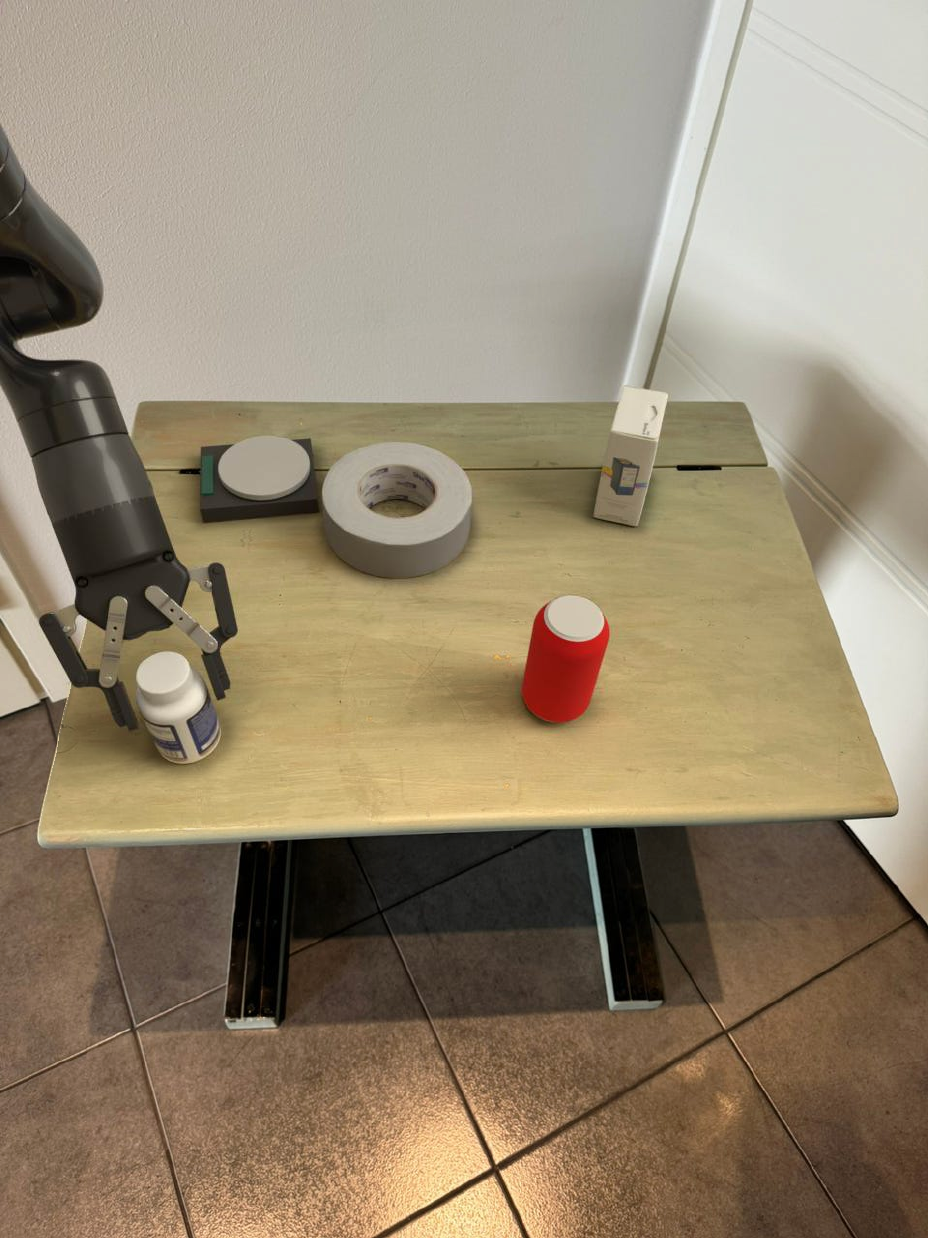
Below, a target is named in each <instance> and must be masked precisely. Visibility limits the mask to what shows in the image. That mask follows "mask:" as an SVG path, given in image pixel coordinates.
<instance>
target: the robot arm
mask: <svg viewBox="0 0 928 1238" xmlns="http://www.w3.org/2000/svg"><path fill="white" fill-rule="evenodd" d="M104 288H105V287H104V281H103V277H102V275H101V272H100V269H99V267H98V265H97V262H96V260H95V259H94V257H93V255H92V254H91V252H90V250H89V249H88V247H87V246H86V245H85V243H84V242H83V241H82V239H81V237H79V236H78V235H77V233H76V232H75V231H74V230H73V229H72V228H71V227H70V226H69V224H67V222H66V221H65V220H64V219H63V218H62V217H61V216H60V215H58V213H57V212H56V211H55V210H54V209H53V208H51V206H50V205H49V204H48V203H47V202H46V201H45V200H44V199H43V197H42V196H41V195H40V193H39V192H38V191H37V190H36V189H35V188H34V186H33V185H32V183H31V182H30V181H29V178H28V177H27V174H26V173H25V171H24V169H23V166H22V165H21V163H20V161H19V159H18V156H17V154H16V153H15V150H14V147H13V146H12V144H11V141H10V139H9V138H8V136H7V134H6V131H5V129H4V127H3V126H2V123H1V122H0V388H1V390H2V392H3V395H4V396H5V397H6V400H7V402H8V404H9V406H10V408H11V410H12V412H13V415H14V418H15V420H16V422H17V426H18V428H19V431H20V433H21V436H22V440H23V441H24V444H25V446H26V449H27V452H28V454H29V457H30V458H31V463H32V466H33V470H34V474H35V479H36V483H37V487H38V491H39V494H40V497H41V499H42V503H43V505H44V507H45V510H46V513H47V516H48V518H49V521H50V523H51V527H52V529H53V532H54V534H55V536H56V539H57V541H58V545H59V547H60V549H61V553H62V555H63V558H64V560H65V561H64V562H65V564H66V566H67V569H68V571H69V574H70V576H71V579H72V581H73V585H74V588H75V598H74V602H73V604H70V605H68V606H65V607H63V608H61V609H59V610H57V611H49V612H46V613H44V614H42V615H41V616H40V617H39V619H38V625H39V627H40V628H41V630H42V632H43V634H44V636H45V638H46V640H47V641H48V643H49V645H50V647H51V649H52V650H53V652H54V654H55V656H56V658H57V660H58V662H59V664H60V665H61V667H62V669H63V671H64V673H65V675H66V676H67V678H68V680H69V683H70V684H71V685H72V686H73V687H74V688H76V689H81V688H98V689H100V690H101V691H102V692H103V694H104V696H105V700H106V702H107V704H108V708H109V710H110V713H111V715H112V718H113V721H114V723H115V724H116V725H117V726H118V727H119V728H123V727H127V730H128V732H129V733H131V732H134V731H137V730H139V729H140V725H139V722H138V719H137V715H136V712H135V710H134V707H133V706H132V702H131V699H130V697H129V694H128V691H127V689H126V687H125V684H124V681H123V680H120V679H119V676H118V674H119V669H120V662H121V655H122V650H123V642H124V641H128V642H130V641H133V640H136V639H139V638H141V637H143V636H144V635H146V634H147V633H149V632H161V631H164V630H166V629H170V628H171V627H172V626H173V625H175V626H176V627H177V628H178V629H180V630H181V631H182V632H183V633H184V634H185V635H186V636H187V637H189V639H191V640H192V642H194V644H196V645H197V646H198V647H199V648H200V650H201V654H200V657H201V660H202V663H203V666H204V668H205V671H206V674H207V676H208V677H207V678H208V680H209V683H210V685H211V688H212V691H213V693H214V694H213V695H214V696H215V699H216V701H217V702H219V701H222V700H224V699H227V696H226V692H225V691H228V690H231V680H230V677H229V674H228V671H227V668H226V666H225V664H224V660H223V657H222V655H221V648H222V647H223V645H224V644H225V643H226V642H228V641H229V640H230V639H231V638H234V637H236V636H237V635H238V632H239V629H238V624H237V619H236V614H235V611H234V605H233V601H232V595H231V592H230V591H231V590H230V587H229V583H228V578H227V572H226V567H225V566H224V565H223V564H222V563H220V562H218V561H213V562H211V563H209V564H208V565H203V566H196V567H192V568H187V567H186V566H185V565H184V564H182V563H181V561H180V560H179V559H178V557H177V554H176V551H175V549H174V547H173V546H174V545H173V544H172V541H171V538H170V535H169V532H168V529H167V527H166V524H165V521H164V518H163V515H162V512H161V509H160V506H159V504H158V502H157V498H156V496H155V493H154V489H153V487H154V486H153V485H152V482H151V480H150V479H149V475H148V472H147V471H146V468H145V465H144V463H143V460H142V458H141V457H140V454H139V453H138V451H137V449H136V447H135V445H134V442H133V441H132V438H131V436H130V434H129V433H130V432H129V430H128V427H127V425H126V422H125V419H124V416H123V413H122V410H121V408H120V405H119V402H118V399H117V397H116V393H115V390H114V387H113V385H112V383H111V380H110V378H109V376H108V373H107V372H106V371H105V369H104V368H103V367H102V366H101V365H100V364H98V363H97V362H95V361H93V360H92V361H91V360H87V359H78V358H77V359H76V358H75V359H74V358H73V359H72V358H71V359H70V358H69V359H42V358H41V359H40V358H34V357H31V356H29V355H27V354H25V353H24V351H23V350H22V349H21V347H20V345H19V341H22V340H23V339H24V340H25V339H30V338H34V337H39V336H43V335H47V334H52V333H55V332H56V333H57V332H60V331H64V330H69V329H74V328H78V327H80V326H84V325H86V324H88V323H89V322H91V321H92V320H94V319H95V317H97V315H98V314H99V312H100V310H101V308H102V305H103V302H104V294H105V293H104V292H105V291H104ZM191 581H192V582H193V581H194V582H196V583H197V584H198V585H199V588H200V589H201V590H202V591H203V592H205V593H211V597H212V602H213V606H214V610H215V616H216V620H217V625H218V626H216V627H215V628H213V630H211V631H209V632H208V631H207V630H206V629H205V628H204V627H203V626H202V625H201V624H200V623H199V622H197V620H195V619H194V618H193V617H192V616H191V615H190V614H189V613H188V612H187V611H186V610H184V608H183V604H184V601H185V599H186V595H187V593H188V589H189V586H190V583H191ZM79 616H81V617H82V618H84V619H86V620H87V621H89V622H90V623H92V624H93V625H96V627H98V628H100V629H101V630H103V631H104V632H105V635H104V641H103V647H102V656H101V661H100V668H88V666H87V664H86V662H85V661H84V659H83V656H82V655H81V654H80V652H79V650H78V648H77V646H76V645H75V643H74V640H73V639H72V637H71V636H73V635H74V634H75V633H76V631H77V628H78V627H77V624H76V620H77V618H78V617H79Z"/></svg>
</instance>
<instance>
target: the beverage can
mask: <svg viewBox="0 0 928 1238" xmlns="http://www.w3.org/2000/svg"><path fill="white" fill-rule="evenodd" d="M530 634H531V635H530V639H529V640H530V641H529V646H528V651H527V655H526V656H527V657H526V662H525V666H524V672H523V678H522V683H521V696H522V699H523V700H522V701H523V703H524V704H525V706H526V708H527V709H528V710H529V711H530V713H532V714H533V715H534V716H536V717H537V718H539V719H541V720H544V721H547V722H549V723H568V722H571V721H574V720H576V719H579V717H581V716H582V715H583V714H585V712H586V711H587V710H588V708H589V706H590V704H591V700H592V698H593V694H594V691H595V687H596V684H597V681H598V677H599V674H600V671H601V668H602V664H603V662H604V657H605V655H606V651H607V648H608V644H609V641H610V634H611V632H610V625H609V622H608V620H607V618H606V616H605V614H604V613H603V611H602V609H601V608H600V606H599V605H598V604H597V603H595V602H594V601H592V600H591V599H589V598H586V597H584V596H581V595H578V594H577V595H576V594H564V595H561V596H557V597H555V598H553V599H552V600H550V601H548V602H547V603H545V604H544V605H543V606H542V607H541V608H540V609H539V610H538V612H537V614H536V615H535V617H534V620H533V624H532V628H531V633H530Z"/></svg>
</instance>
